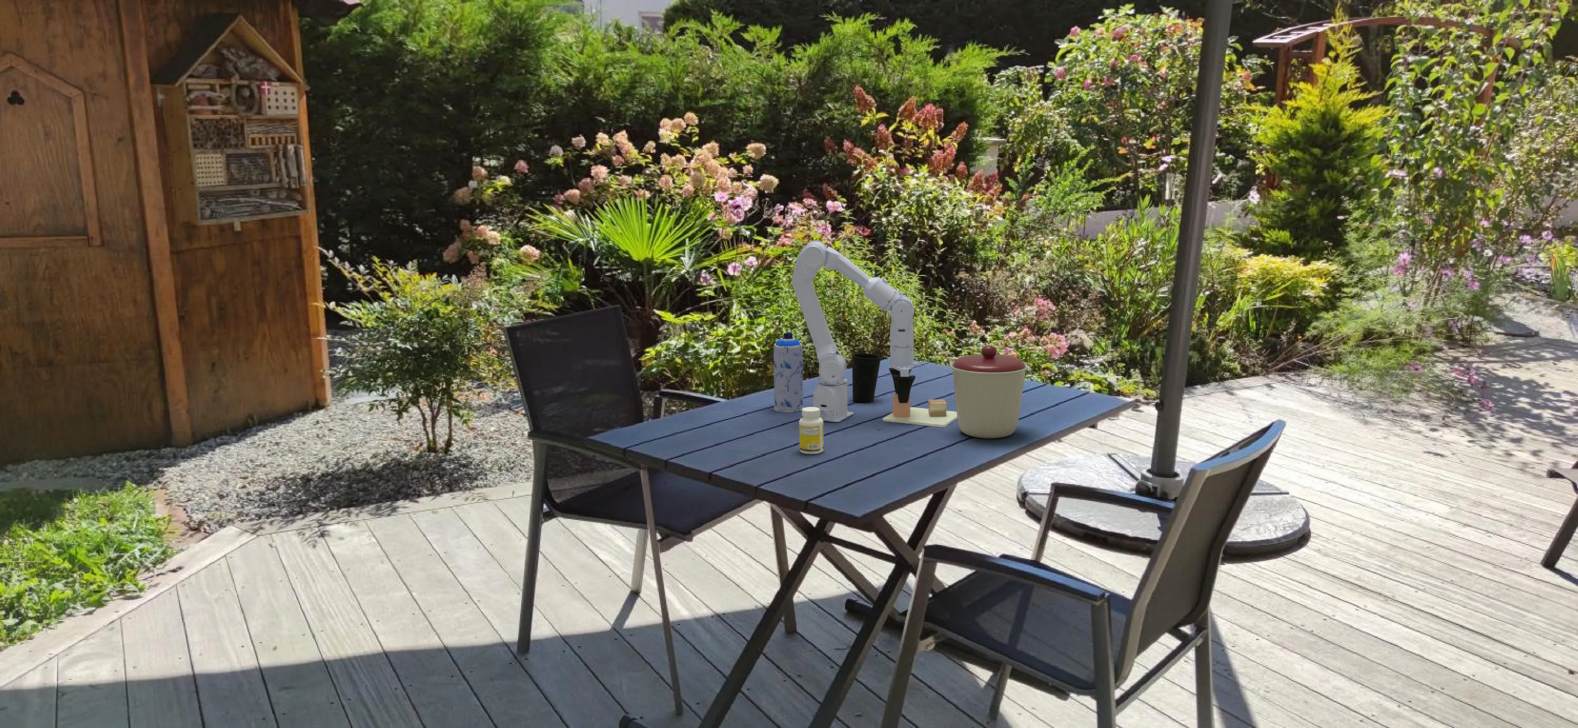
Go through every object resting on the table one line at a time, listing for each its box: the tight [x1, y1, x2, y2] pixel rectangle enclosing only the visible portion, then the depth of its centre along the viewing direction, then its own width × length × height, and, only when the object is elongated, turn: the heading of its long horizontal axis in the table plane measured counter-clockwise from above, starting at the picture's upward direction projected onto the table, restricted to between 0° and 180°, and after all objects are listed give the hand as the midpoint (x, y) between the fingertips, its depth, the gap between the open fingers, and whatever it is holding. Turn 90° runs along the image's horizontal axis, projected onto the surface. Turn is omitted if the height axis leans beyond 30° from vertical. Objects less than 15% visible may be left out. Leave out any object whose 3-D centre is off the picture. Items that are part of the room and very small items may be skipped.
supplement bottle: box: [798, 406, 825, 455], centre depth 253 cm, size 5×5×10 cm
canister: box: [949, 344, 1029, 439], centre depth 265 cm, size 18×18×21 cm
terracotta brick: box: [892, 393, 911, 417], centre depth 283 cm, size 4×4×5 cm
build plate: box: [882, 406, 958, 428], centre depth 283 cm, size 14×16×1 cm
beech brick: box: [927, 399, 948, 417], centre depth 283 cm, size 4×4×3 cm
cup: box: [851, 352, 882, 404], centre depth 300 cm, size 8×8×12 cm
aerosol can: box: [773, 331, 805, 413], centre depth 292 cm, size 8×8×20 cm
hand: (901, 399), depth 282 cm, fingers open, 7 cm apart
